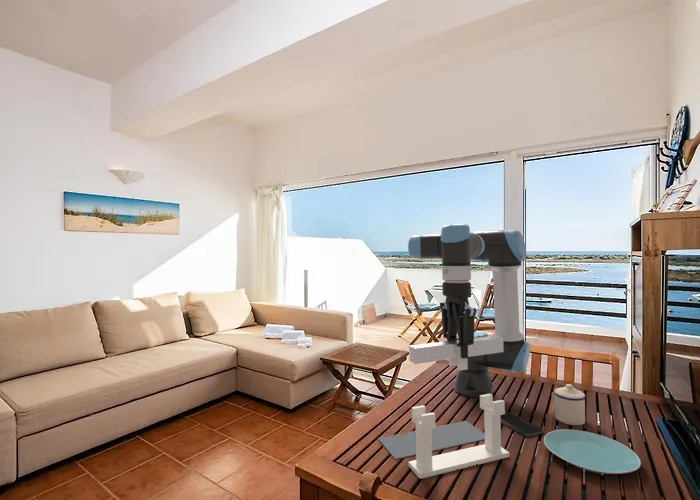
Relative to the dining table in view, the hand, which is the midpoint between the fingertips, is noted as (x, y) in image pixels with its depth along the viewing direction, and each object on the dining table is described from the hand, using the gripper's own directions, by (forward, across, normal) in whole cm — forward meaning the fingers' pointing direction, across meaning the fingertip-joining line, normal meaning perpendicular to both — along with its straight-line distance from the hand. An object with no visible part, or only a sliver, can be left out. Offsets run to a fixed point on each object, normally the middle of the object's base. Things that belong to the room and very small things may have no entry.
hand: (458, 367), depth 101 cm
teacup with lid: (+26, -9, +49) cm, 56 cm away
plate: (+26, +11, +34) cm, 44 cm away
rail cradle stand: (+25, 0, 0) cm, 25 cm away
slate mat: (+25, -13, 0) cm, 28 cm away
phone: (+26, -11, +30) cm, 41 cm away
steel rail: (-3, 0, 0) cm, 3 cm away
